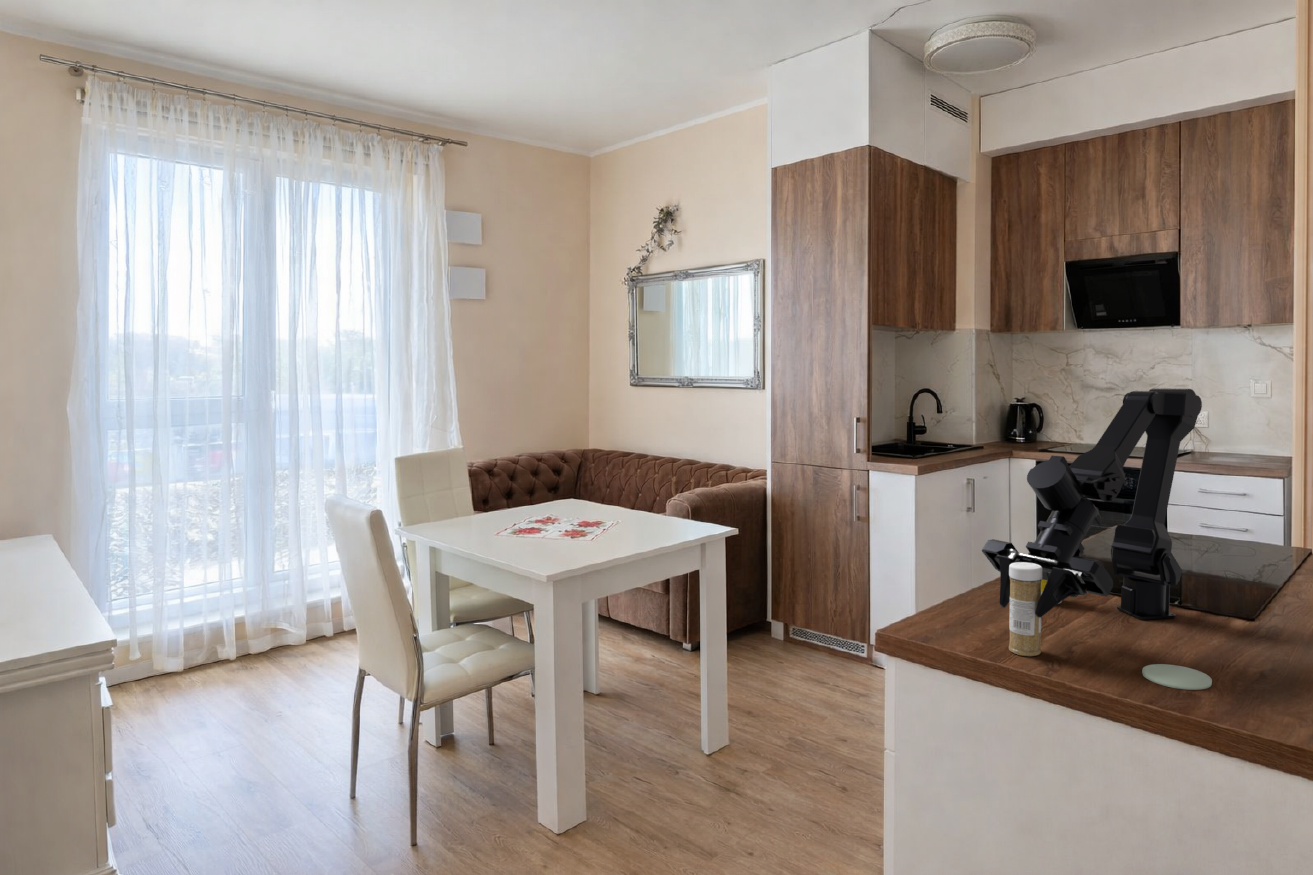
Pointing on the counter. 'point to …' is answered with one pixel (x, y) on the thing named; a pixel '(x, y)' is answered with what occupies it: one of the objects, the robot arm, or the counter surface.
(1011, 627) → the sprinkles bottle
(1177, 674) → the mat
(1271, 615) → the counter surface
